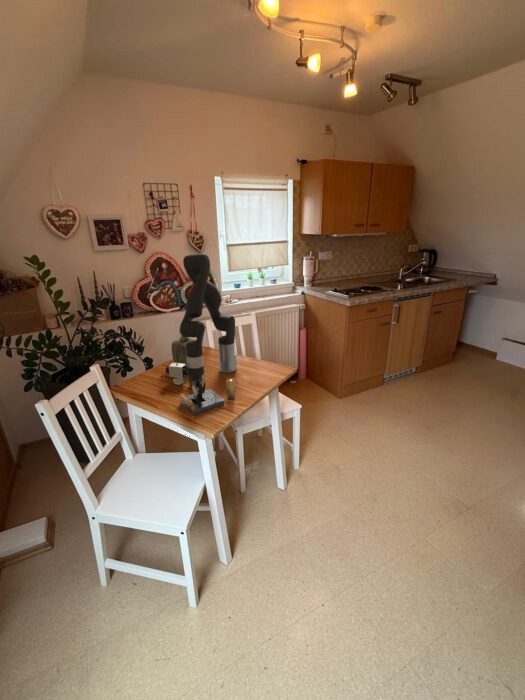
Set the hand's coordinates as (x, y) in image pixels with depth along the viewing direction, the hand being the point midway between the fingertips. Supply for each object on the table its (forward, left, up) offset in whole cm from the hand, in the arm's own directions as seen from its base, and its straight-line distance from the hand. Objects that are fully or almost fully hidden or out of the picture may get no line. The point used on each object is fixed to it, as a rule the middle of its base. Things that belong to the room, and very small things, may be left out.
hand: (197, 397), depth 150 cm
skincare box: (-9, -20, -5) cm, 22 cm away
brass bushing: (-16, +3, -4) cm, 17 cm away
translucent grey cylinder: (0, 0, -3) cm, 3 cm away
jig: (-2, 0, -4) cm, 5 cm away
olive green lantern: (-13, -44, -4) cm, 46 cm away
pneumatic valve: (-2, -28, -4) cm, 28 cm away
